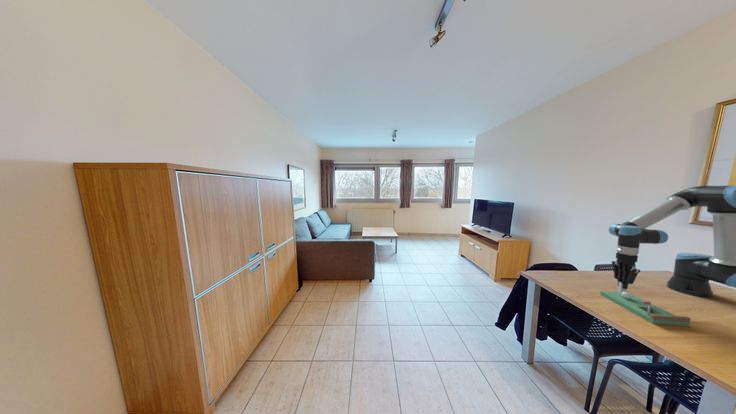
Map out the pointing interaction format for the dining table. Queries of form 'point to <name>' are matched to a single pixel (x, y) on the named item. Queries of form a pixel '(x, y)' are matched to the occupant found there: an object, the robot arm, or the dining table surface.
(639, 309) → the green
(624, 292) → the ball
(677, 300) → the dining table surface
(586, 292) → the dining table surface
